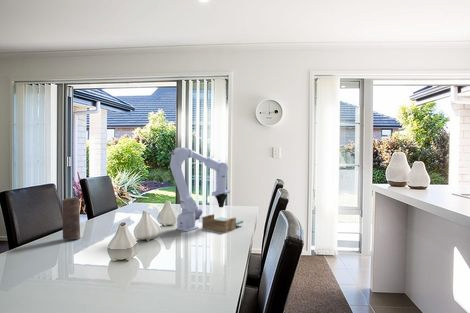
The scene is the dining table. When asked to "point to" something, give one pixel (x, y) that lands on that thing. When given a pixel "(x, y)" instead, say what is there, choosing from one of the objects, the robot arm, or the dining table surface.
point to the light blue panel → (228, 218)
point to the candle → (71, 218)
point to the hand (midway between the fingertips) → (221, 207)
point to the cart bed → (218, 224)
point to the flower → (198, 213)
